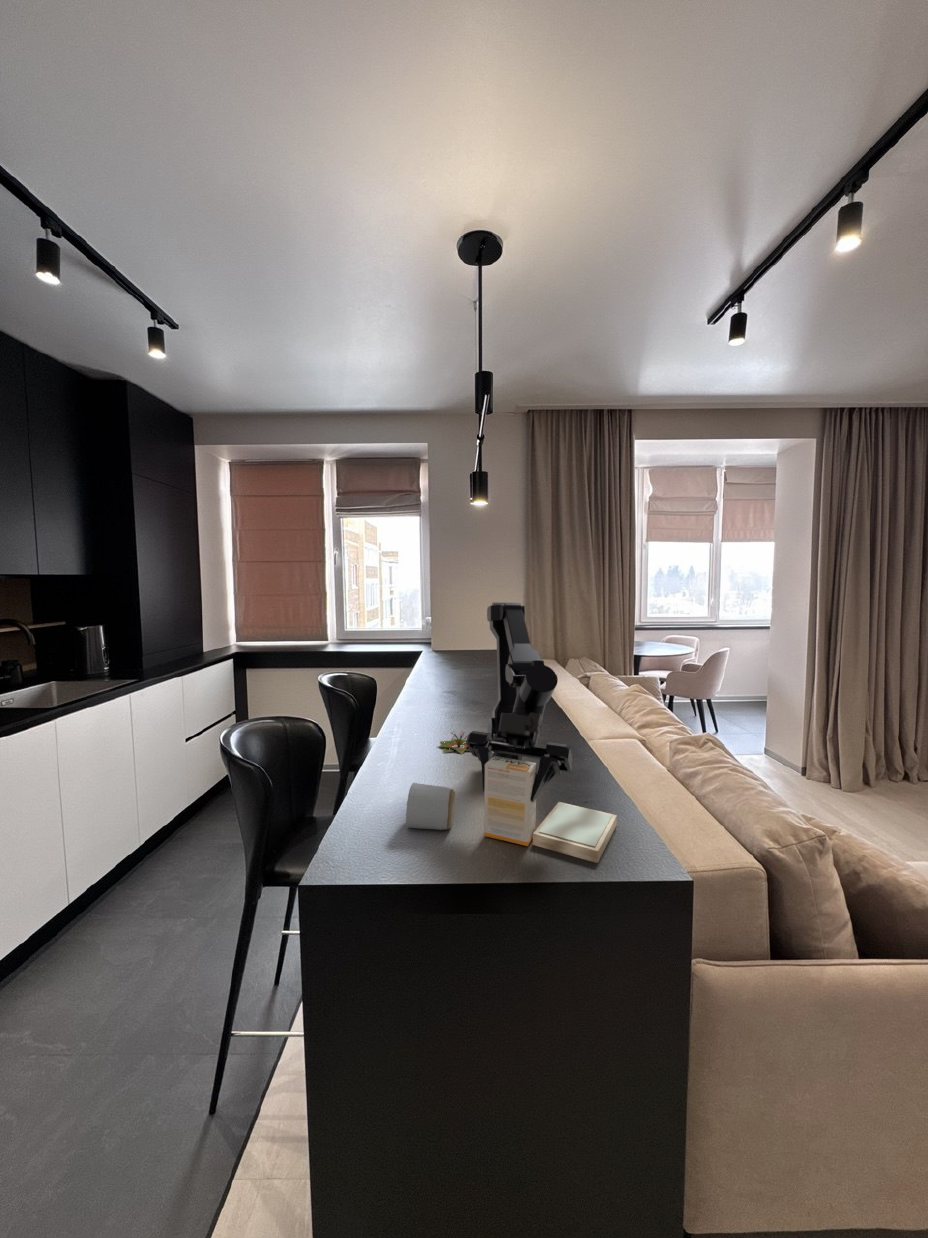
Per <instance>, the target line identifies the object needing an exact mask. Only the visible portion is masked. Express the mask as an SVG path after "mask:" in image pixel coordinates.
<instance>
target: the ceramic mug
mask: <svg viewBox="0 0 928 1238" xmlns="http://www.w3.org/2000/svg"><path fill="white" fill-rule="evenodd" d="M455 805H456V792H455V790H454V789H453V788H451V787H447V786H441V785H433V784H425V783H417V782H412V783H411V786H410V788H409V791H408V794H407V801H406V813H405V824H406V827H407V828H409V829H424V830H437V831H438V830H439V831H443V830H449V829H451V828H452V826H453V824H454V823H453V822H454V817H455V809H456V808H455V807H456V806H455Z"/></svg>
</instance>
